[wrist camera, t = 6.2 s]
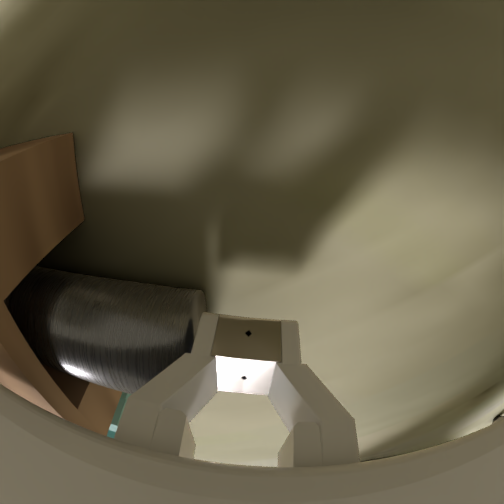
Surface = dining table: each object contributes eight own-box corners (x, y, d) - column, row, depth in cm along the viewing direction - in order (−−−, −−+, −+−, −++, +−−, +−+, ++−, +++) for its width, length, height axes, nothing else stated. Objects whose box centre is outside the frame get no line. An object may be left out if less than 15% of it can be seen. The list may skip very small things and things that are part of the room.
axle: (197, 266, 8) (173, 399, 6) (210, 318, 12) (197, 410, 9) (-46, 236, 9) (-72, 293, 6) (-13, 273, 12) (-33, 325, 10)
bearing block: (73, 132, 7) (-63, 197, 2) (131, 367, 13) (101, 451, 9) (-31, 158, 7) (-107, 207, 3) (33, 336, 13) (-3, 396, 9)
